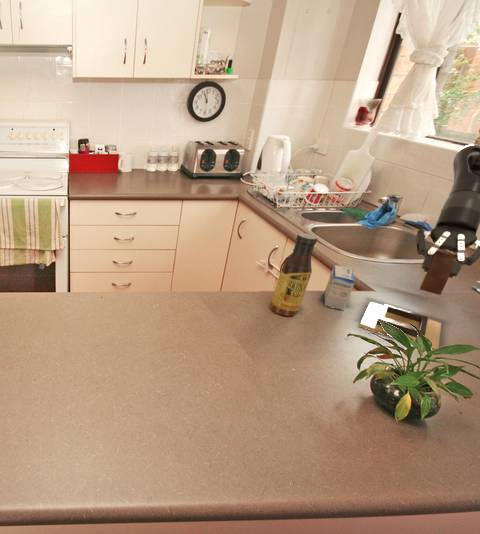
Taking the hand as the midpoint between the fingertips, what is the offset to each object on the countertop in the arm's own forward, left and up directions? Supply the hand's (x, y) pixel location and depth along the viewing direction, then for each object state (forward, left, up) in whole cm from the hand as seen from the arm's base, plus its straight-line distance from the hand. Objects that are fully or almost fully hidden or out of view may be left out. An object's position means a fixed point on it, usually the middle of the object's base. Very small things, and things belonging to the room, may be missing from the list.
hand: (438, 273), depth 93 cm
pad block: (0, -2, -5) cm, 5 cm away
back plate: (+3, +13, -11) cm, 17 cm away
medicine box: (+17, +11, -11) cm, 23 cm away
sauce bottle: (+25, +25, -11) cm, 37 cm away
